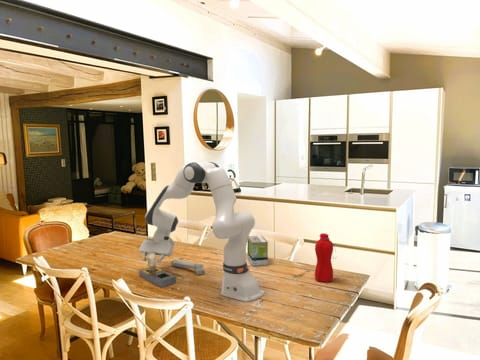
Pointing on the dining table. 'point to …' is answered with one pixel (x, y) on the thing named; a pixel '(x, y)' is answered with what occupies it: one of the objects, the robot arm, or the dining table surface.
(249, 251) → the tea box
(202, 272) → the grey long bar
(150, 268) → the peg
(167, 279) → the grey peg hole block
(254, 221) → the robot arm
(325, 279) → the water bottle
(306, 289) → the dining table surface
